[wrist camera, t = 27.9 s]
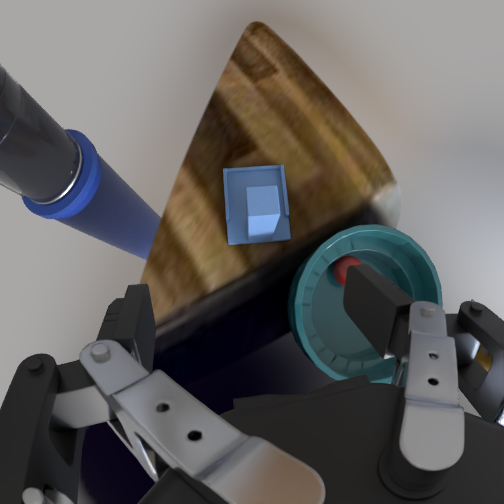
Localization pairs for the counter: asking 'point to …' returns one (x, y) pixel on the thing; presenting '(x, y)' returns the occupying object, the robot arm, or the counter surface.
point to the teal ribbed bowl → (331, 296)
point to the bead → (343, 268)
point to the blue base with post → (256, 204)
